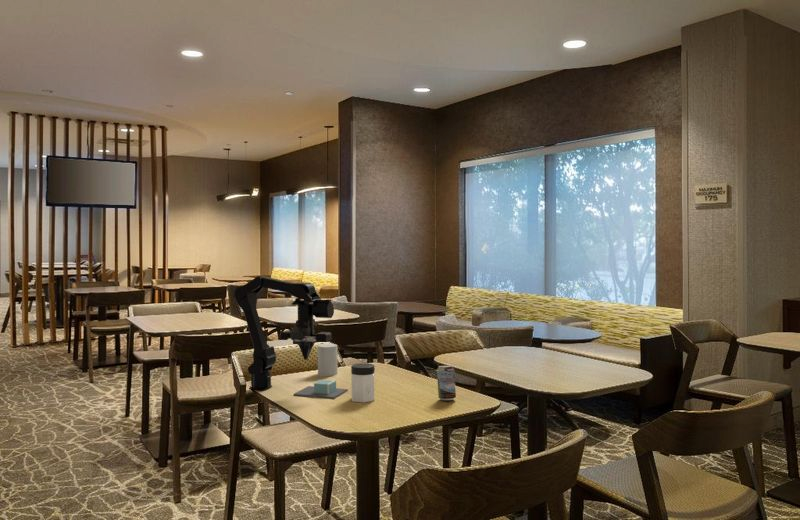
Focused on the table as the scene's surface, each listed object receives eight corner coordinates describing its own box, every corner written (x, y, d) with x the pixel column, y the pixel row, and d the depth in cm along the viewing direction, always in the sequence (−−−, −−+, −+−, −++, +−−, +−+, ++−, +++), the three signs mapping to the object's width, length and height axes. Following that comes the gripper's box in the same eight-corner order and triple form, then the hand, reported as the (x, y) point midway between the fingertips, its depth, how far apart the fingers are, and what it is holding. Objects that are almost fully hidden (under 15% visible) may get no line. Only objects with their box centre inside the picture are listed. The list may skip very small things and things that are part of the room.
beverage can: (444, 403, 206) (444, 368, 206) (433, 398, 213) (433, 364, 213) (459, 401, 209) (459, 366, 209) (448, 396, 216) (448, 362, 215)
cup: (341, 373, 254) (341, 344, 254) (329, 377, 248) (328, 347, 247) (326, 371, 259) (326, 343, 258) (313, 374, 252) (313, 346, 252)
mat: (293, 395, 218) (293, 393, 218) (308, 387, 229) (308, 386, 229) (334, 398, 213) (334, 397, 213) (347, 390, 225) (347, 389, 225)
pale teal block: (313, 383, 219) (329, 384, 217) (321, 379, 225) (336, 380, 223) (314, 393, 219) (329, 394, 217) (321, 389, 225) (336, 390, 223)
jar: (357, 404, 206) (357, 369, 206) (346, 399, 213) (346, 365, 213) (380, 400, 211) (379, 365, 211) (368, 395, 218) (368, 362, 217)
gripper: (271, 319, 217) (272, 362, 218) (319, 320, 212) (319, 365, 212) (286, 315, 228) (287, 356, 228) (332, 317, 222) (332, 359, 223)
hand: (305, 359), depth 223 cm, fingers closed
